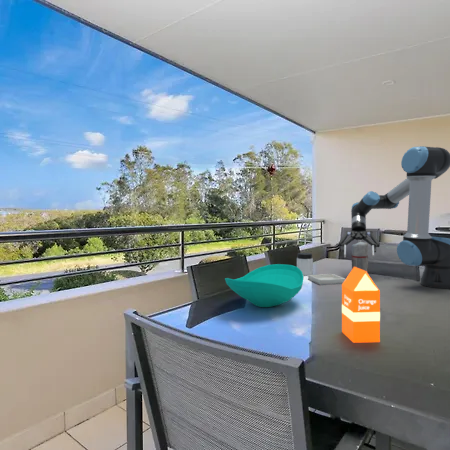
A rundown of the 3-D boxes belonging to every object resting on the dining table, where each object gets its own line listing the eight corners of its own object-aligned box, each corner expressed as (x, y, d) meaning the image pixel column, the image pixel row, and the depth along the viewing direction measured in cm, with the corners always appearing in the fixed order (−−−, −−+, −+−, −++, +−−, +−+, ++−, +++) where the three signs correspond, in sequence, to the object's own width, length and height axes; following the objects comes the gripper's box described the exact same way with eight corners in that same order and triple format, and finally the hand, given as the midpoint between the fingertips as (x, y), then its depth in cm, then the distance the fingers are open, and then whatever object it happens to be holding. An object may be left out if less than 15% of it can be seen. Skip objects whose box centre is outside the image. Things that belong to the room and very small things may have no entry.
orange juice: (366, 331, 106) (366, 266, 105) (380, 342, 97) (380, 271, 96) (341, 331, 106) (341, 266, 105) (352, 342, 97) (352, 271, 96)
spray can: (366, 283, 173) (366, 243, 172) (349, 281, 178) (349, 242, 177) (370, 280, 180) (370, 241, 179) (354, 278, 185) (354, 241, 184)
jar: (306, 276, 193) (306, 255, 193) (294, 274, 199) (294, 253, 198) (315, 274, 199) (315, 253, 199) (303, 272, 205) (303, 252, 205)
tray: (346, 283, 173) (346, 278, 173) (319, 285, 171) (319, 280, 171) (332, 278, 187) (332, 273, 187) (308, 279, 185) (308, 275, 185)
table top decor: (257, 290, 161) (257, 262, 161) (316, 298, 146) (316, 266, 146) (207, 312, 128) (206, 276, 128) (276, 325, 113) (276, 284, 112)
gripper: (382, 230, 191) (385, 261, 177) (335, 230, 200) (333, 259, 186) (383, 221, 186) (386, 252, 172) (334, 221, 194) (333, 251, 181)
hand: (359, 256), depth 179 cm, fingers open, 13 cm apart
